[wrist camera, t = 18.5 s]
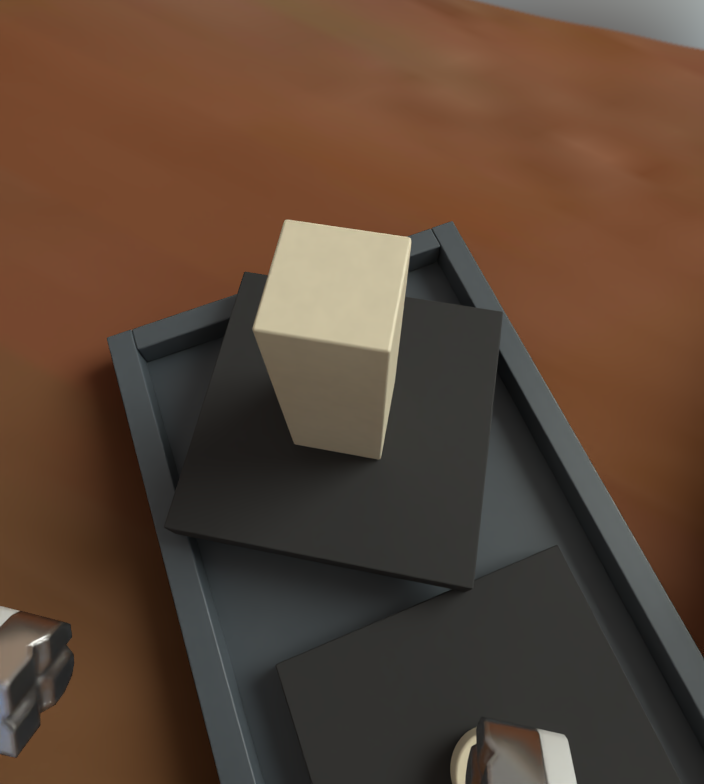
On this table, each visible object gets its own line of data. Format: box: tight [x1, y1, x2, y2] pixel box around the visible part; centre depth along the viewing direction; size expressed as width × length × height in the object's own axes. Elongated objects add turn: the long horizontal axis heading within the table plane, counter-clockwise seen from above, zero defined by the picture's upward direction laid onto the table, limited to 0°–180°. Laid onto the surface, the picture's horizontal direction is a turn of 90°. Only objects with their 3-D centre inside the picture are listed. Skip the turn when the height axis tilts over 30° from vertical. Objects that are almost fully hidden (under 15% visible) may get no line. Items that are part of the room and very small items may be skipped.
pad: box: [276, 545, 682, 784], centre depth 17 cm, size 10×10×2 cm
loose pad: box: [164, 220, 503, 592], centre depth 17 cm, size 10×10×9 cm
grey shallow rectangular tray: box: [107, 221, 704, 784], centre depth 20 cm, size 15×25×2 cm, turn 21°
